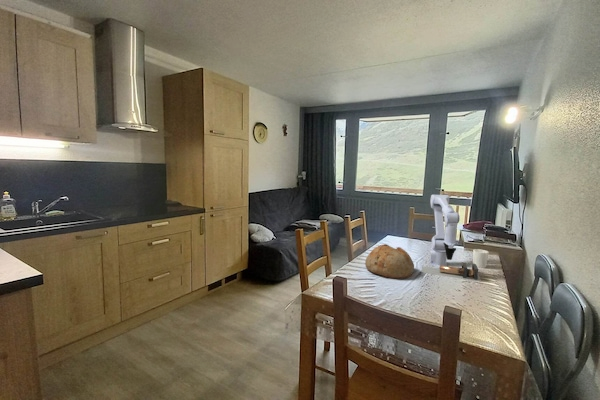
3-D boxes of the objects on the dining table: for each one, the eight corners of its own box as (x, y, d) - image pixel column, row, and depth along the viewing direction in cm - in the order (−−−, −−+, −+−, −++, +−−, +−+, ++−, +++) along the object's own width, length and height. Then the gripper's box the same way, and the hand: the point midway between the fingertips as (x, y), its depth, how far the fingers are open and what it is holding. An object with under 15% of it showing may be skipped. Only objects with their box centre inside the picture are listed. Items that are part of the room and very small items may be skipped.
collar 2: (474, 279, 148) (474, 268, 147) (471, 273, 156) (472, 263, 155) (477, 280, 147) (478, 269, 147) (474, 274, 156) (475, 263, 155)
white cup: (489, 269, 164) (491, 253, 163) (474, 268, 166) (476, 252, 164) (483, 265, 172) (485, 249, 170) (469, 264, 173) (471, 248, 172)
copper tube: (439, 273, 157) (440, 267, 156) (439, 269, 161) (440, 263, 159) (476, 278, 150) (477, 272, 149) (475, 275, 153) (476, 268, 152)
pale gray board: (421, 273, 158) (421, 272, 158) (421, 267, 168) (421, 266, 168) (481, 282, 146) (481, 281, 146) (477, 275, 156) (478, 274, 156)
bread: (357, 270, 162) (358, 245, 160) (378, 261, 178) (379, 238, 176) (401, 284, 143) (402, 256, 141) (419, 272, 159) (421, 247, 157)
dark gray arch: (463, 278, 150) (464, 267, 149) (461, 272, 158) (462, 262, 157) (466, 278, 149) (467, 267, 149) (464, 272, 158) (465, 262, 157)
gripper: (460, 237, 146) (458, 262, 148) (457, 231, 159) (455, 254, 161) (445, 236, 149) (443, 260, 151) (443, 230, 162) (442, 253, 164)
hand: (448, 257), depth 156 cm, fingers open, 7 cm apart
